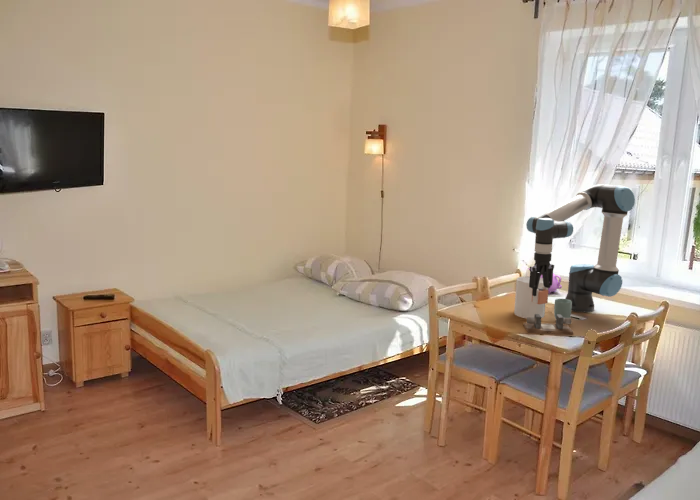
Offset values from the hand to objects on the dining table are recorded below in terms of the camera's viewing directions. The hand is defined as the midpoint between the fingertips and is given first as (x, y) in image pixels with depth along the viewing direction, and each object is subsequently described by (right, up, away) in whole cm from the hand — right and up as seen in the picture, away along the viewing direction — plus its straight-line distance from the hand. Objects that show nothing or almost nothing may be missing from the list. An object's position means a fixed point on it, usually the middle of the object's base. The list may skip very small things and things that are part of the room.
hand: (539, 301), depth 283 cm
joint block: (0, 0, 0) cm, 0 cm away
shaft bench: (+4, -13, 0) cm, 13 cm away
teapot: (+23, 0, +68) cm, 72 cm away
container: (+2, -9, +23) cm, 24 cm away
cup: (+15, -11, +13) cm, 23 cm away
